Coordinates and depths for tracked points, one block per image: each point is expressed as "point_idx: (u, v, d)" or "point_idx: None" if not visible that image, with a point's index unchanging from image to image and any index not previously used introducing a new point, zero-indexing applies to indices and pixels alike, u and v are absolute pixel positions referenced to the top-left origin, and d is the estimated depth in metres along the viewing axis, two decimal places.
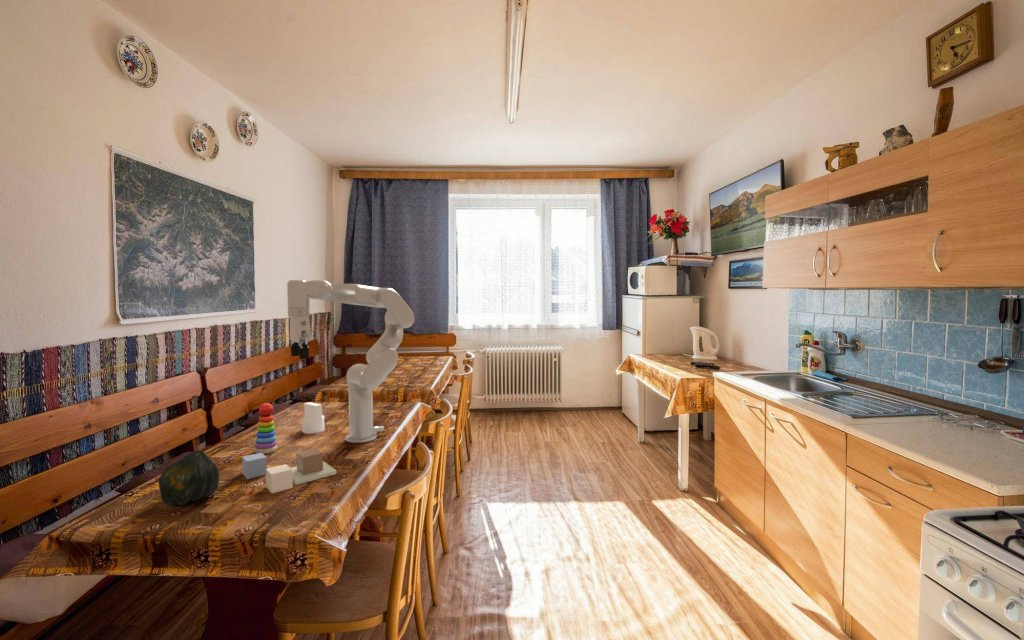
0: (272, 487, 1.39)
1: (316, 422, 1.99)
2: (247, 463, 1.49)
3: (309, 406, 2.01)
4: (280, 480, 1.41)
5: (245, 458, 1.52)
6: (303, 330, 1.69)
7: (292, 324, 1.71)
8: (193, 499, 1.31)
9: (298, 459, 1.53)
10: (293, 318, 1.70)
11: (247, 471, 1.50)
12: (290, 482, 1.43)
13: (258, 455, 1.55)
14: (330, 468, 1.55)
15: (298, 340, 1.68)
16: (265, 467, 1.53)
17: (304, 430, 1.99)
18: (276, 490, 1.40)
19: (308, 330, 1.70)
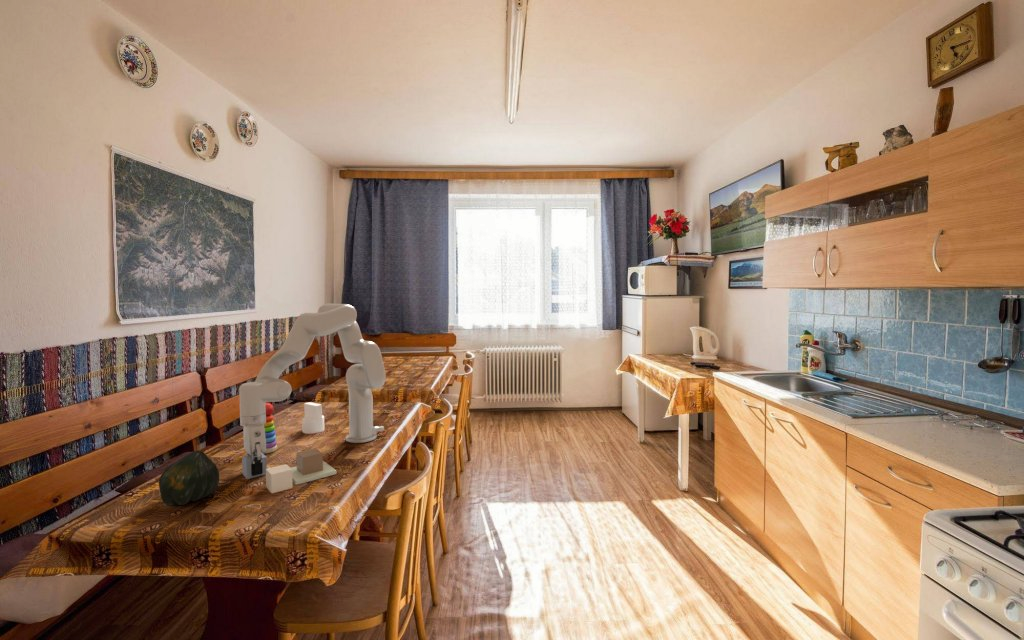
0: (272, 487, 1.39)
1: (316, 422, 1.99)
2: (247, 463, 1.49)
3: (309, 406, 2.01)
4: (280, 480, 1.41)
5: (245, 458, 1.52)
6: (257, 441, 1.49)
7: (245, 433, 1.51)
8: (193, 499, 1.31)
9: (298, 459, 1.53)
10: (246, 427, 1.50)
11: (247, 471, 1.50)
12: (290, 482, 1.43)
13: None
14: (330, 468, 1.55)
15: (251, 453, 1.49)
16: (265, 467, 1.53)
17: (304, 430, 1.99)
18: (276, 490, 1.40)
19: (263, 441, 1.50)
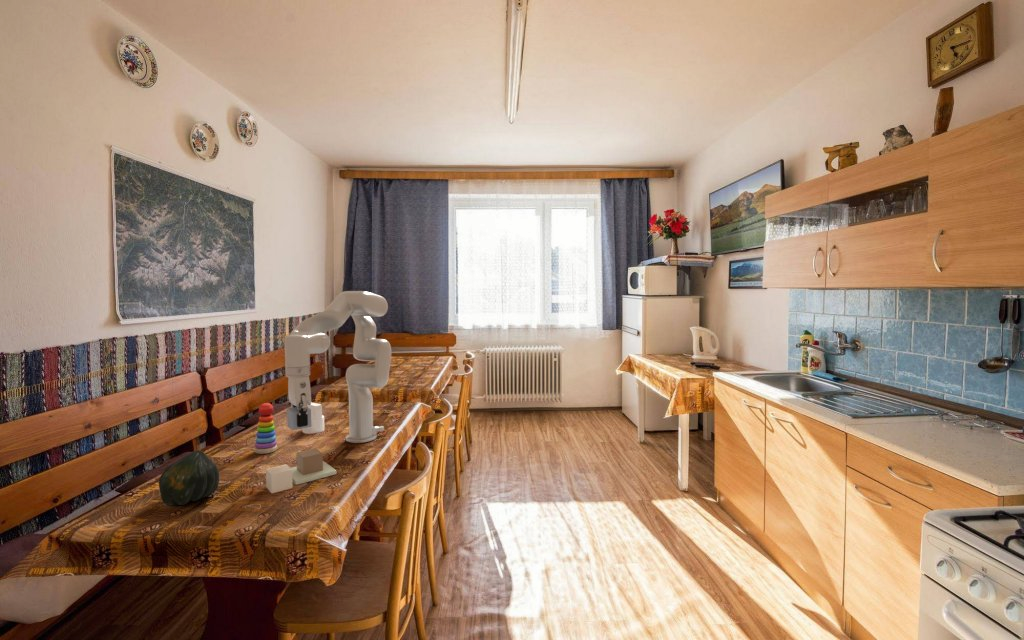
0: (272, 487, 1.39)
1: (316, 422, 1.99)
2: (292, 414, 1.49)
3: (309, 406, 2.01)
4: (280, 480, 1.41)
5: (290, 410, 1.52)
6: (302, 393, 1.49)
7: (290, 385, 1.51)
8: (193, 499, 1.31)
9: (298, 459, 1.53)
10: (291, 379, 1.50)
11: (292, 422, 1.49)
12: (290, 482, 1.43)
13: None
14: (330, 468, 1.55)
15: (297, 404, 1.48)
16: (309, 419, 1.53)
17: (304, 430, 1.99)
18: (276, 490, 1.40)
19: (308, 392, 1.50)
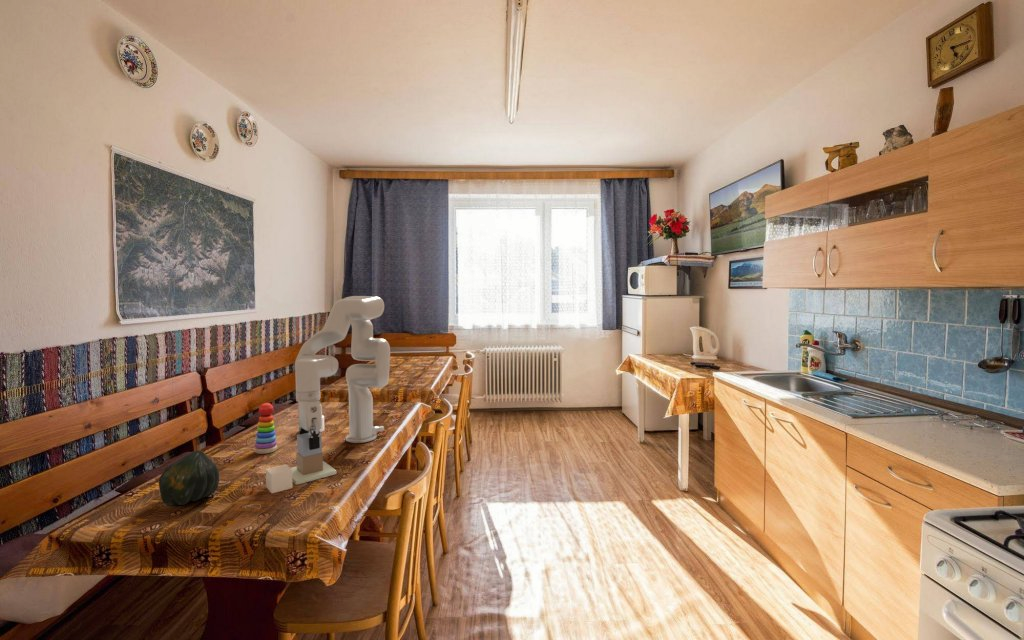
0: (272, 487, 1.39)
1: None
2: (303, 441, 1.50)
3: None
4: (280, 480, 1.41)
5: (300, 436, 1.52)
6: (313, 417, 1.49)
7: (301, 409, 1.51)
8: (193, 499, 1.31)
9: (298, 459, 1.53)
10: (302, 403, 1.50)
11: (303, 449, 1.50)
12: (290, 482, 1.43)
13: None
14: (330, 468, 1.55)
15: (308, 429, 1.49)
16: (320, 445, 1.53)
17: None
18: (276, 490, 1.40)
19: (319, 416, 1.51)
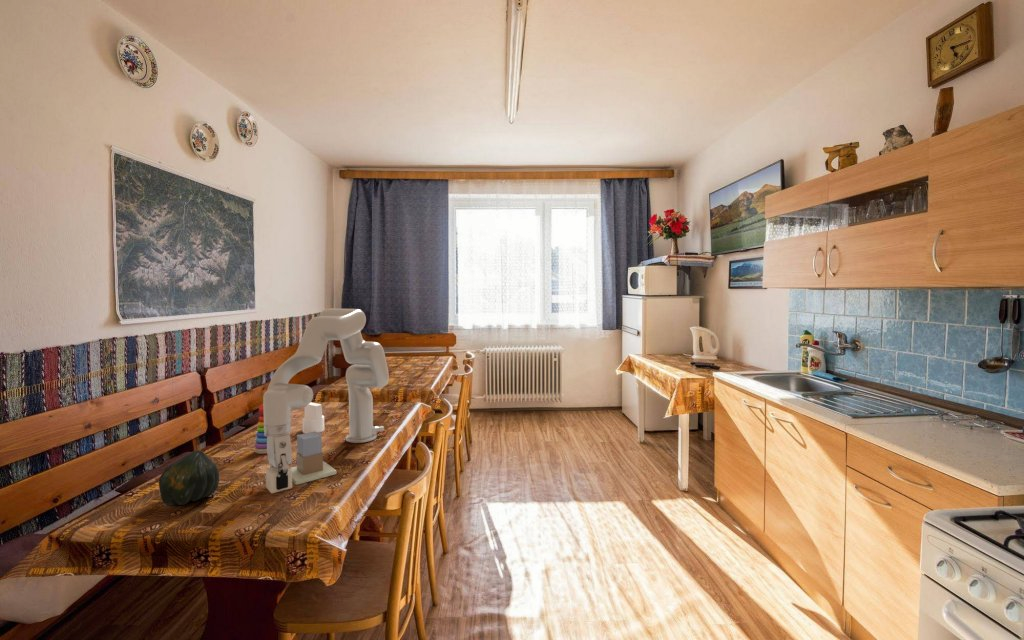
0: (272, 487, 1.39)
1: (316, 422, 1.99)
2: (303, 441, 1.50)
3: (309, 406, 2.01)
4: None
5: (300, 436, 1.52)
6: (282, 453, 1.39)
7: (269, 444, 1.40)
8: (193, 499, 1.31)
9: (298, 459, 1.53)
10: (270, 438, 1.39)
11: (303, 449, 1.50)
12: (290, 482, 1.42)
13: (312, 433, 1.55)
14: (330, 468, 1.55)
15: (276, 466, 1.38)
16: (320, 445, 1.53)
17: (304, 430, 1.99)
18: (276, 490, 1.40)
19: (289, 452, 1.40)
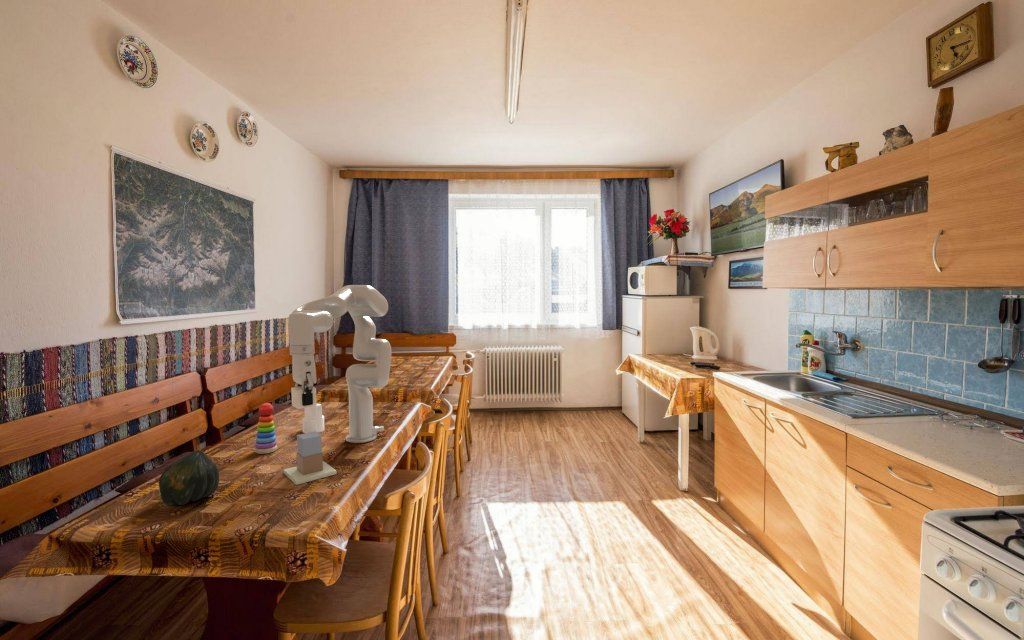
0: (298, 403, 1.47)
1: (316, 422, 1.99)
2: (303, 441, 1.50)
3: None
4: None
5: (300, 436, 1.52)
6: (307, 371, 1.47)
7: (295, 363, 1.48)
8: (193, 499, 1.31)
9: (298, 459, 1.53)
10: (296, 357, 1.47)
11: (303, 449, 1.50)
12: (314, 400, 1.51)
13: (312, 433, 1.55)
14: (330, 468, 1.55)
15: (302, 383, 1.46)
16: (320, 445, 1.53)
17: (304, 430, 1.99)
18: (301, 406, 1.48)
19: (313, 370, 1.48)
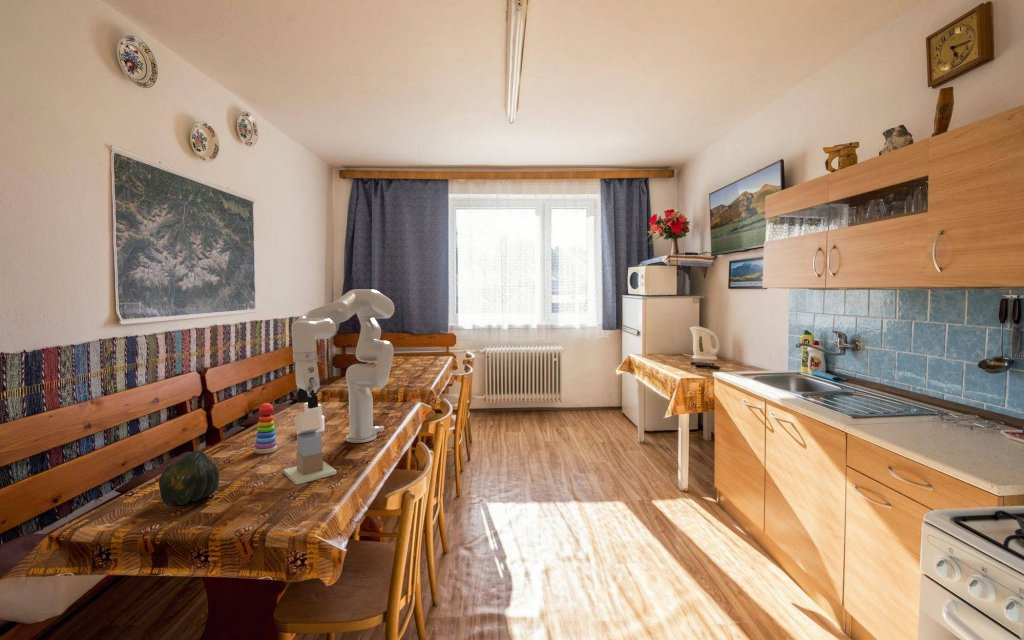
0: (302, 425, 1.50)
1: None
2: (303, 441, 1.50)
3: None
4: (308, 419, 1.53)
5: (300, 436, 1.52)
6: (311, 377, 1.54)
7: (298, 370, 1.55)
8: (193, 499, 1.31)
9: (298, 459, 1.53)
10: (299, 364, 1.54)
11: (303, 449, 1.50)
12: (318, 422, 1.54)
13: (312, 433, 1.55)
14: (330, 468, 1.55)
15: (306, 388, 1.53)
16: (320, 445, 1.53)
17: None
18: (306, 428, 1.51)
19: (316, 376, 1.55)
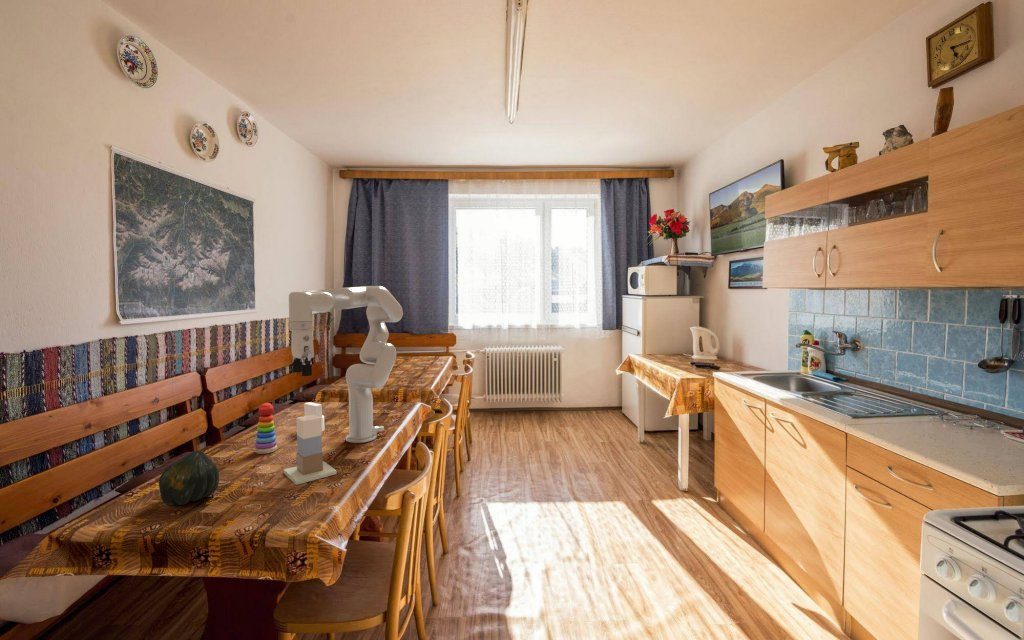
0: (304, 433, 1.50)
1: None
2: (303, 441, 1.50)
3: (309, 406, 2.01)
4: (311, 427, 1.51)
5: None
6: (306, 345, 1.58)
7: (294, 339, 1.60)
8: (193, 499, 1.31)
9: (298, 459, 1.53)
10: (295, 332, 1.59)
11: (303, 449, 1.50)
12: (320, 429, 1.53)
13: None
14: (330, 468, 1.55)
15: (300, 356, 1.58)
16: (320, 445, 1.53)
17: None
18: (307, 436, 1.50)
19: (311, 345, 1.60)
